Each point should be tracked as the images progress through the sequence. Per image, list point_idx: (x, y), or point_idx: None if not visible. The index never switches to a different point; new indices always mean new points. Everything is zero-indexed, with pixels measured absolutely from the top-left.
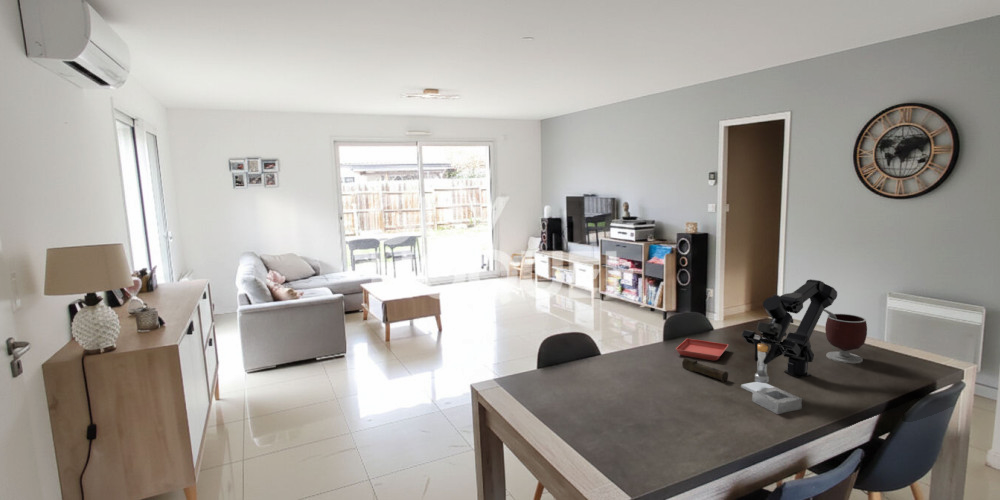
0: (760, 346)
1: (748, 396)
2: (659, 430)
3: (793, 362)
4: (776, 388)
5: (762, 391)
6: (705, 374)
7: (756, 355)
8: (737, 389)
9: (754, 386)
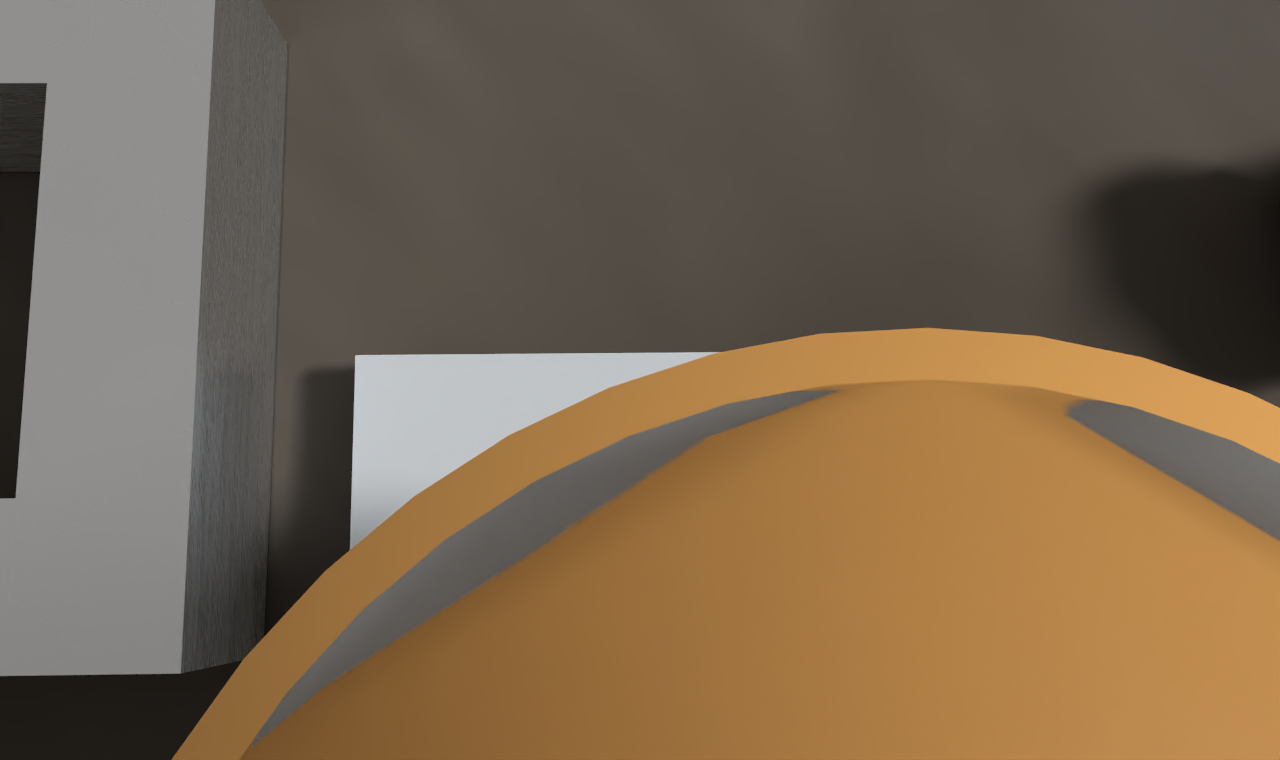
0: (666, 380)
1: (501, 157)
2: None
3: None
4: (101, 611)
5: (124, 142)
6: None
7: None
8: (860, 212)
9: None
